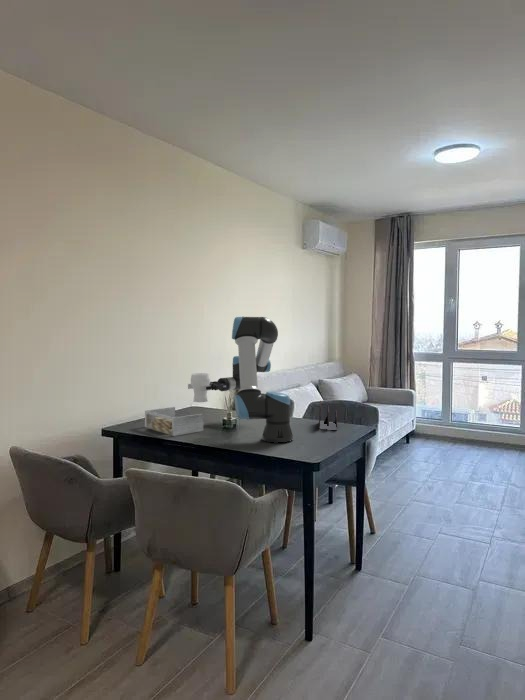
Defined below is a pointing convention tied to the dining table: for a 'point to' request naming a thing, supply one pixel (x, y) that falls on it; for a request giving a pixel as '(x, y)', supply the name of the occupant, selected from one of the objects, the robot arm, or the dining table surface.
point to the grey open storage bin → (175, 421)
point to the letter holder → (327, 417)
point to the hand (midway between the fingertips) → (194, 387)
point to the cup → (196, 382)
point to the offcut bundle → (162, 424)
